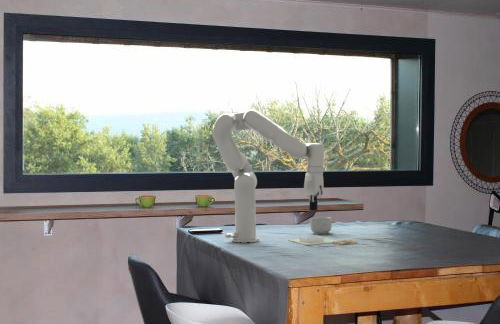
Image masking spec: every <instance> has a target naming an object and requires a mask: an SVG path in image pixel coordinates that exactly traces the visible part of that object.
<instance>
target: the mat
mask: <svg viewBox="0 0 500 324" xmlns="http://www.w3.org/2000/svg"><path fill="white" fill-rule="evenodd" d="M287 241H289V242H292V243H297V244H301V245H305V246H310V245H311V246H312V245H322V244H323V245H324V244H333V241H337V240H335V239H331V238H327V237H324V242H312V243H305V242H301V241H299V238H293V239H288V240H287Z"/></svg>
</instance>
